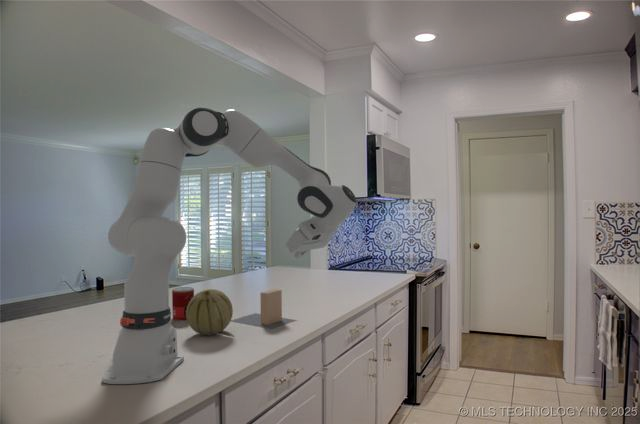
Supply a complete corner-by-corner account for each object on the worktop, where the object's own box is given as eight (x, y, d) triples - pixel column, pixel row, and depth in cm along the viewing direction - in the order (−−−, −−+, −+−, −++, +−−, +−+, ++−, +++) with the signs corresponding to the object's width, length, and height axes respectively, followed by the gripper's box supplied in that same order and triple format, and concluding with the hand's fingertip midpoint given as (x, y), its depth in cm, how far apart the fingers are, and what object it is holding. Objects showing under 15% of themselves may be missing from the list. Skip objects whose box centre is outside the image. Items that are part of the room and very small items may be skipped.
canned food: (188, 320, 163) (187, 290, 163) (168, 319, 165) (168, 290, 165) (197, 315, 171) (197, 287, 171) (178, 314, 172) (178, 286, 172)
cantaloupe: (228, 326, 155) (228, 283, 155) (236, 337, 141) (236, 290, 141) (184, 331, 150) (184, 286, 149) (188, 343, 136) (187, 294, 136)
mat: (296, 321, 161) (296, 320, 161) (271, 330, 149) (271, 329, 149) (255, 314, 172) (255, 313, 172) (229, 322, 160) (229, 320, 160)
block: (281, 320, 161) (281, 289, 161) (267, 325, 154) (267, 293, 154) (275, 319, 163) (275, 289, 163) (260, 323, 156) (260, 292, 156)
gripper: (331, 219, 156) (309, 246, 162) (297, 222, 139) (273, 252, 144) (343, 232, 154) (319, 259, 159) (309, 237, 137) (284, 266, 142)
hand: (297, 256), depth 152 cm, fingers closed
